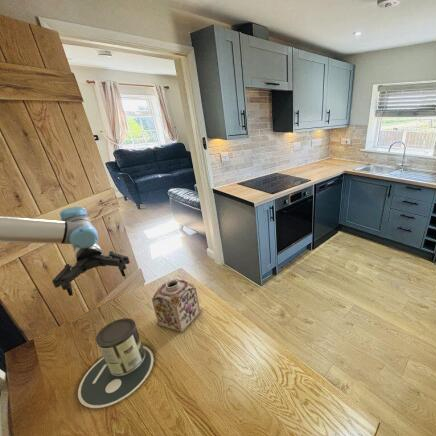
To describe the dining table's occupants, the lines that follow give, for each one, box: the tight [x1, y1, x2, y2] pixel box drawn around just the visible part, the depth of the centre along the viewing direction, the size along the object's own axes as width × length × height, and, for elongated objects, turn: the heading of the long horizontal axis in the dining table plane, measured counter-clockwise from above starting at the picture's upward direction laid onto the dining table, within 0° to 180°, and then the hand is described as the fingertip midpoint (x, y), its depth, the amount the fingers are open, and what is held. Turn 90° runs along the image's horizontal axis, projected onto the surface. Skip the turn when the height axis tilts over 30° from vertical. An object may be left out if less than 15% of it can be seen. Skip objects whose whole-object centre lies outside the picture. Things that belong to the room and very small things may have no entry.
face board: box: [77, 345, 154, 409], centre depth 76 cm, size 20×20×1 cm
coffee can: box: [95, 317, 145, 376], centre depth 77 cm, size 10×10×14 cm
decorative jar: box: [151, 278, 201, 333], centre depth 94 cm, size 12×12×18 cm
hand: (97, 282), depth 75 cm, fingers open, 13 cm apart
